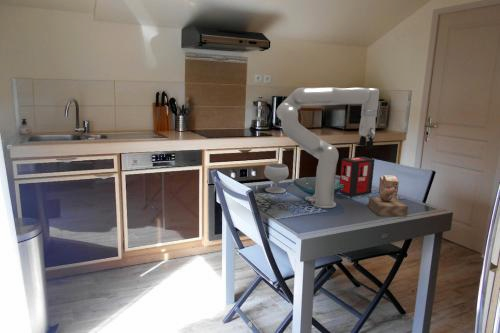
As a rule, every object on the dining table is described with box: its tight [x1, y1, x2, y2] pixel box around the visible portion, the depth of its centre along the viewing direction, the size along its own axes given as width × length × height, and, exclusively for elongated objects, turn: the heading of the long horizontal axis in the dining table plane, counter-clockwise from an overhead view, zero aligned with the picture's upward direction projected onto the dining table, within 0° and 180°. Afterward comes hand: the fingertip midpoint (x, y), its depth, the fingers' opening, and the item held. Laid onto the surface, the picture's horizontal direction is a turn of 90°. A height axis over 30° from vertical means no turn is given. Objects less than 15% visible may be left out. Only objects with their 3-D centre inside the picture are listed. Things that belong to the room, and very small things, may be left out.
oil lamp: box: [378, 186, 396, 201], centre depth 190 cm, size 9×4×8 cm, turn 105°
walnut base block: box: [367, 196, 409, 217], centre depth 191 cm, size 14×14×5 cm
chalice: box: [263, 162, 290, 194], centre depth 218 cm, size 14×14×15 cm
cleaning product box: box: [338, 156, 376, 198], centre depth 219 cm, size 16×9×20 cm, turn 120°
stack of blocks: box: [378, 174, 400, 199], centre depth 214 cm, size 21×6×12 cm, turn 170°
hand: (365, 147), depth 195 cm, fingers open, 9 cm apart
